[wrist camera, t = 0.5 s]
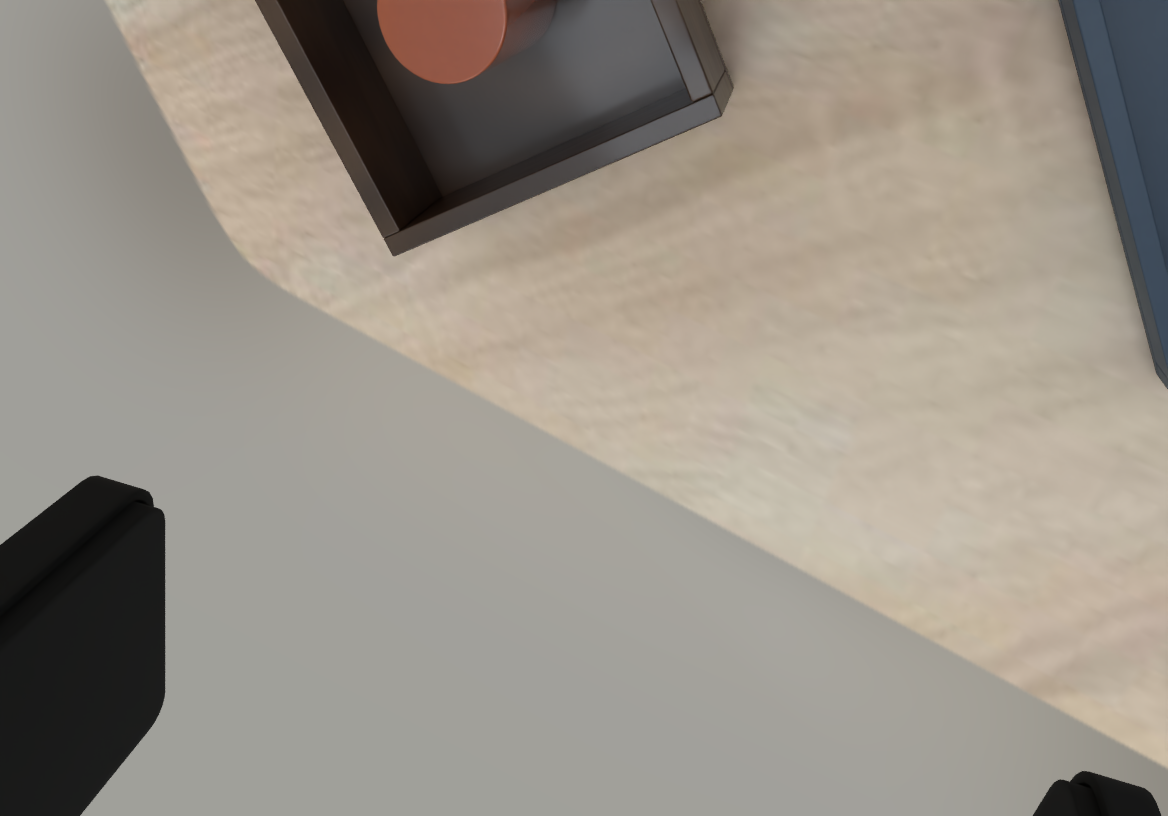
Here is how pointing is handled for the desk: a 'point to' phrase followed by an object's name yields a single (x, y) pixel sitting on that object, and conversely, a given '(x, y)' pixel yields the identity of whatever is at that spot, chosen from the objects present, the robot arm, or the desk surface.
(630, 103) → the brown open box
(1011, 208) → the desk surface
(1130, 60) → the tray
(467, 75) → the orange cylinder
